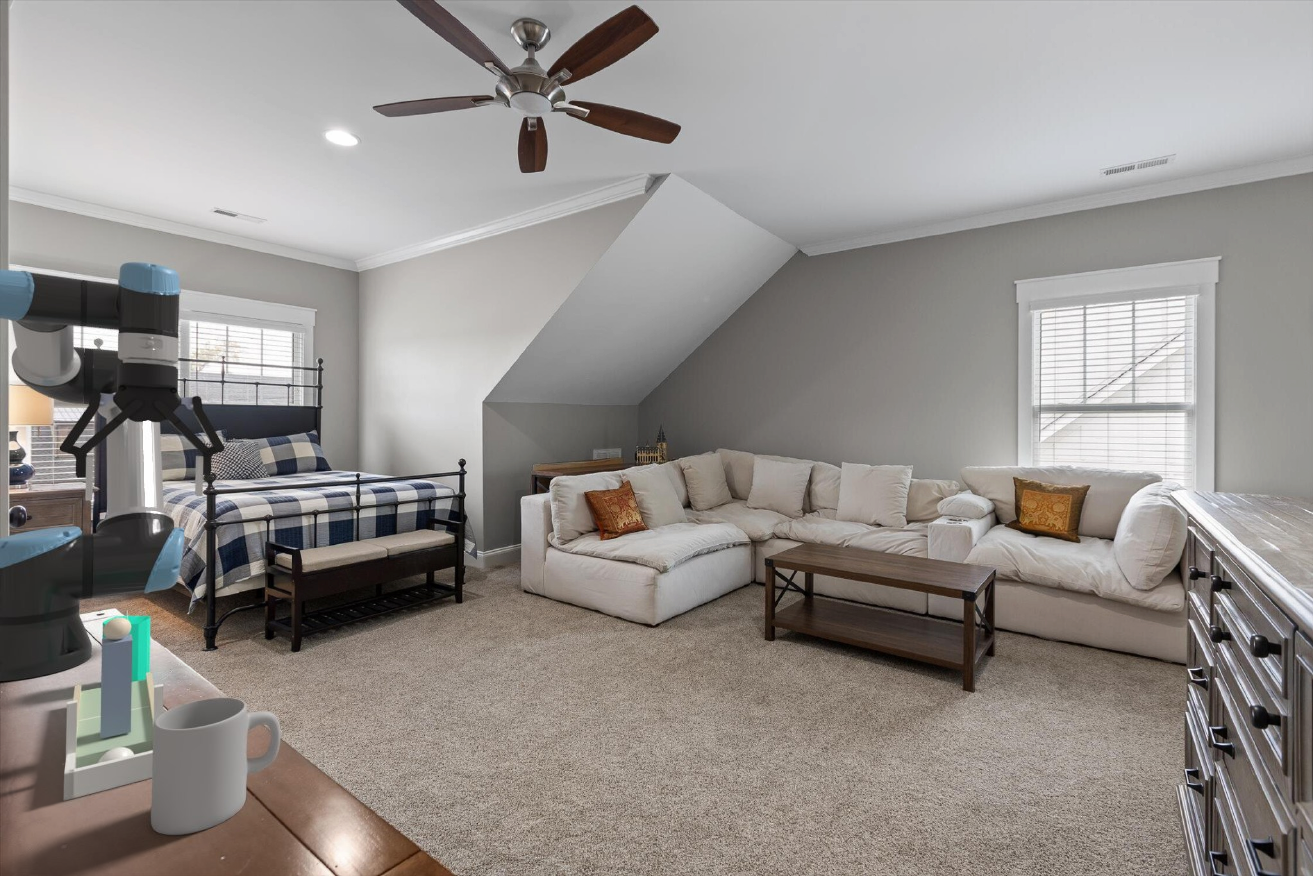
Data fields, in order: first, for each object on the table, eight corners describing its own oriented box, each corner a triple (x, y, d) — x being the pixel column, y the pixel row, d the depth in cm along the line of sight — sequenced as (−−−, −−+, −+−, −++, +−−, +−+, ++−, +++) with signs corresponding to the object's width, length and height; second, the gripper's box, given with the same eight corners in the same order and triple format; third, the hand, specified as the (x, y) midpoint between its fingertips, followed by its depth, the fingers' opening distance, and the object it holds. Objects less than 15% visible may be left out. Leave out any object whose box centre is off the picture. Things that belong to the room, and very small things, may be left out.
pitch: (74, 705, 96) (75, 685, 96) (151, 690, 101) (151, 672, 101) (66, 776, 77) (66, 751, 77) (161, 753, 83) (161, 730, 82)
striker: (100, 730, 84) (102, 617, 83) (130, 723, 85) (132, 613, 85) (100, 738, 81) (102, 622, 81) (130, 732, 83) (132, 618, 83)
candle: (92, 687, 102) (94, 612, 102) (135, 674, 108) (136, 603, 108) (115, 693, 100) (117, 617, 100) (157, 680, 106) (159, 608, 106)
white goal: (66, 776, 77) (67, 701, 77) (161, 753, 83) (163, 683, 82) (63, 801, 72) (64, 721, 72) (165, 774, 78) (166, 700, 78)
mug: (156, 847, 64) (158, 738, 64) (145, 810, 70) (147, 711, 70) (289, 801, 73) (291, 705, 73) (269, 771, 79) (271, 683, 79)
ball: (96, 790, 75) (97, 763, 77) (134, 780, 77) (134, 754, 80) (96, 772, 74) (97, 746, 76) (135, 763, 76) (135, 737, 78)
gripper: (37, 353, 90) (34, 504, 90) (245, 368, 106) (242, 495, 107) (41, 357, 96) (39, 499, 96) (238, 371, 112) (236, 492, 112)
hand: (146, 497), depth 101 cm, fingers open, 13 cm apart
